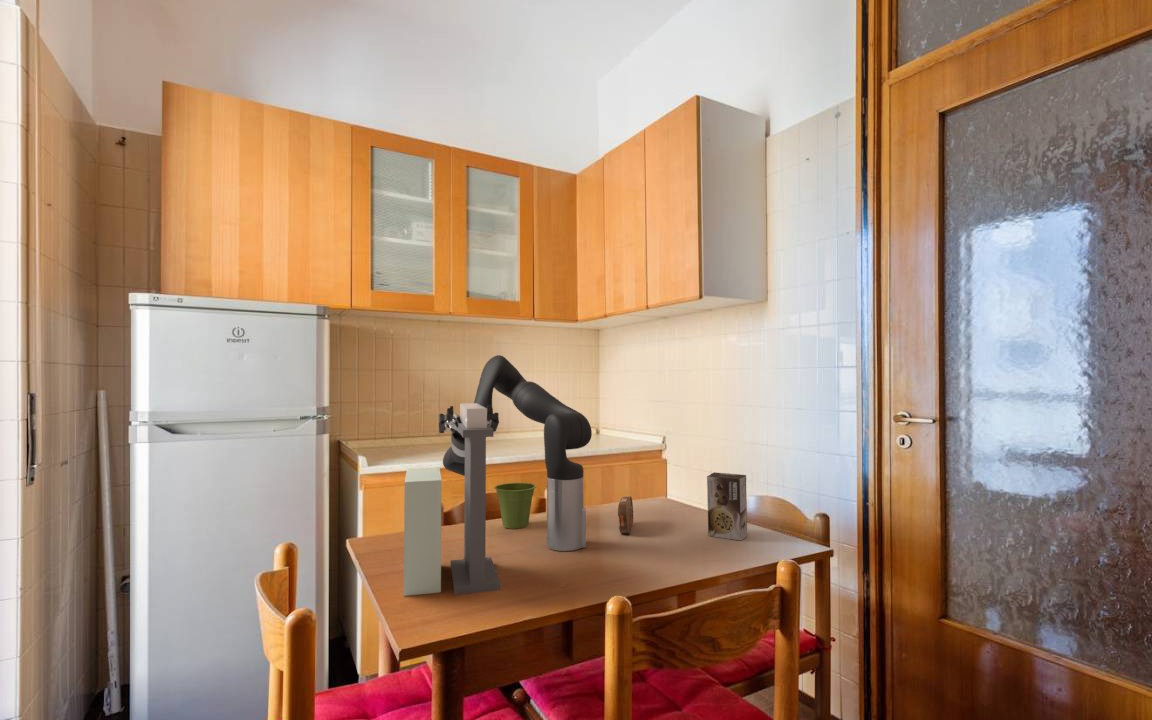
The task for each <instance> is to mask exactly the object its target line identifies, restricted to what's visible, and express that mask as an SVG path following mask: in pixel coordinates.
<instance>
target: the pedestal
mask: <svg viewBox="0 0 1152 720" xmlns="http://www.w3.org/2000/svg"><path fill="white" fill-rule="evenodd" d="M442 480H443V479H442V475H441V470H440V467H439V466H437V467H417V468H415V467H413V468H411V467H410V468H406V473H405V478H404V499H403V500H404V505H403V506H404V511H403V512H404V517H403V519H404V520H403V525H404V527H403V528H404V529H403V596H404V597H408V596H409V597H410V596H418V595H426V594H427V595H428V594H436V593H441V592H442V591H441V590H442V485H443V484H442V483H443V482H442Z"/></svg>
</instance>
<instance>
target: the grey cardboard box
mask: <svg viewBox="0 0 1152 720" xmlns="http://www.w3.org/2000/svg"><path fill="white" fill-rule="evenodd" d="M706 487H707V489H706V490H707V494H706V495H707V536H708V537H716V538H722V539H729V540H734V541H735V540H736V541H742V540H743V539H745V538H746V537H748V513H747V512H748V511H747V510H748V509H747V504H748V503H747V475H746V474H739V473H729V472H728V473H726V472H713V473H710V474H709V475H706Z"/></svg>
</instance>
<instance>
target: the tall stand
mask: <svg viewBox="0 0 1152 720" xmlns="http://www.w3.org/2000/svg"><path fill="white" fill-rule="evenodd" d="M458 431H459V432H460V434H461V435H462V437H463V438H465V476H464V504H463V505H464V511H463V512H464V516H463V517H464V519H463V520H464V524H463V525H464V527H463V528H464V530H463V533H464V534H463V535H464V537H463V539H464V541H463V542H464V543H463V547H464V549H463V551H464V553H463V559H461V558H460V559H453V560H452V559H451V560H450V574H451V580H452V587H453V593H454V594H453V595H454V596H455V595H456V596H457V595H464V594H465V595H466V594H474V593H483V592H484V593H485V592H494V591H501V580H500V577H499V575H498V574H499V573H498V572H497V570H496V567H495V564H494V561H493V558H492V556H486V542H487V541H486V537H487V536H486V534H487V533H486V529H487V528H486V526H487V525H486V521H487V520H486V519H487V518H486V516H487V514H486V513H487V512H486V508H487V507H486V506H487V505H486V504H487V502H486V501H487V500H486V499H487V496H486V495H487V493H486V491H487V487H486V484H487V479H486V477H487V472H486V471H487V438H494V432H493V428H491V427H490V426H489V425H487V428H468V429H467V428H466V427H465V425H464V424H463V423H458Z"/></svg>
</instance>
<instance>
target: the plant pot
mask: <svg viewBox="0 0 1152 720" xmlns="http://www.w3.org/2000/svg"><path fill="white" fill-rule="evenodd" d="M536 488H537V486H536V484H534V483H528V482H508V483H500V484H497V485H495V486H494V489H495V491H496V496H497V499H498V504H499V509H500V516H501V522H502V526H503V528H504V529H505V528H506V529H512V530H516V529H518V528H521V529H523V528H526V527H528V526H529V522H530V515H531V507H532V502H533V501H532V500H533V497H534V493H535V489H536Z"/></svg>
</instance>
